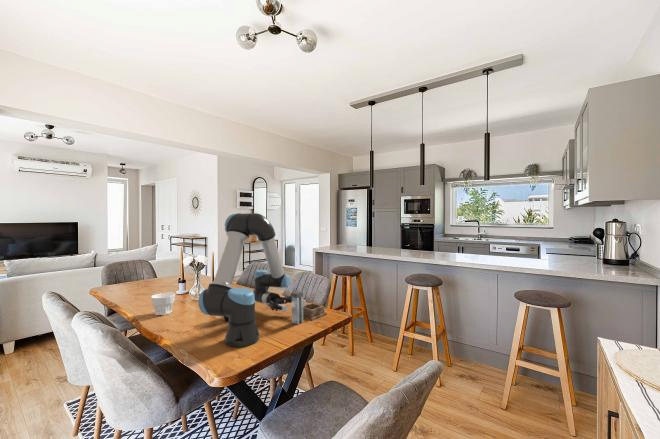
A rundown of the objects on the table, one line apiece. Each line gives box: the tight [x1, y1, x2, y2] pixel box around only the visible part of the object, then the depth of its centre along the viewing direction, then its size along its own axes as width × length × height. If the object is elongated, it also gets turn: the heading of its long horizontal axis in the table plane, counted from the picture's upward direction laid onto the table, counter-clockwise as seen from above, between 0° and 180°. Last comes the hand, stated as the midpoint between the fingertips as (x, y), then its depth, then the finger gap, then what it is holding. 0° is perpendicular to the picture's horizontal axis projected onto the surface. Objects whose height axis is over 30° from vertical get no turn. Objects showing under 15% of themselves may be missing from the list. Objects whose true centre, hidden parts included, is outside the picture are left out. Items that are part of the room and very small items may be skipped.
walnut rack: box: [303, 302, 328, 321], centre depth 167 cm, size 12×12×5 cm
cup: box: [150, 291, 176, 315], centre depth 174 cm, size 12×12×11 cm
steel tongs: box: [291, 290, 304, 325], centre depth 157 cm, size 4×6×16 cm
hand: (296, 306), depth 158 cm, fingers open, 13 cm apart
